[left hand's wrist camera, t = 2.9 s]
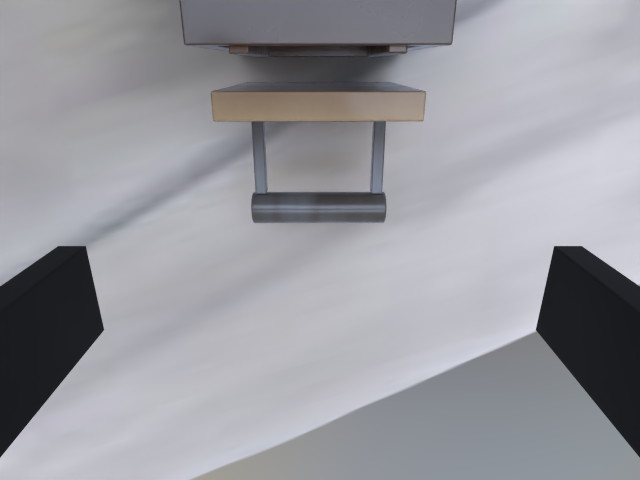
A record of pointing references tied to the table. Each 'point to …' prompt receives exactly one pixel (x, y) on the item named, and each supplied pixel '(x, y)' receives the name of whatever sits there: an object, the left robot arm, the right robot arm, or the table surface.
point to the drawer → (318, 105)
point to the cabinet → (317, 23)
